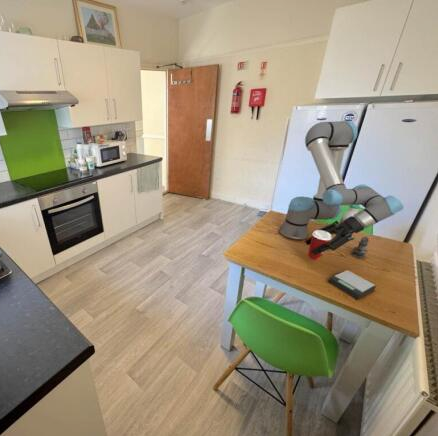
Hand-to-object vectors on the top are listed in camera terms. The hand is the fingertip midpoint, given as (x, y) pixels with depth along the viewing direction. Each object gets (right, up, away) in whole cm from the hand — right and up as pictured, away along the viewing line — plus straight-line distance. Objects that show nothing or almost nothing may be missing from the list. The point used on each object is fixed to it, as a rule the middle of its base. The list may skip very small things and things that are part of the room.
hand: (309, 248), depth 118 cm
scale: (+11, -16, -11) cm, 22 cm away
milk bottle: (+39, +5, +27) cm, 47 cm away
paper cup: (+4, -5, +2) cm, 6 cm away
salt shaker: (+32, -5, +8) cm, 33 cm away
